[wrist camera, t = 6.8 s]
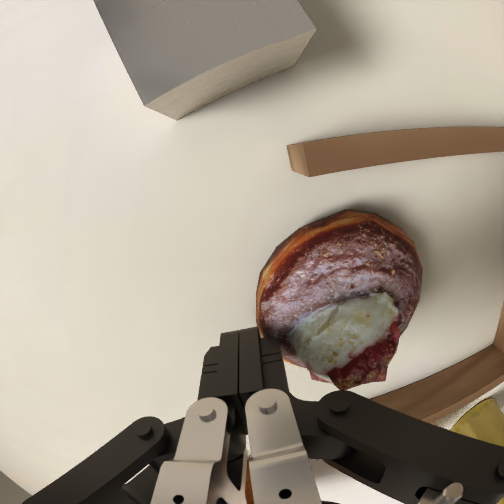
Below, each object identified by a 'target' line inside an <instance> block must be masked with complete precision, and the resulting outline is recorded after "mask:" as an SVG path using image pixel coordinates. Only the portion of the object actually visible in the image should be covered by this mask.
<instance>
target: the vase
mask: <svg viewBox="0 0 504 504" xmlns="http://www.w3.org/2000/svg"><path fill="white" fill-rule="evenodd" d="M451 431H453V432H456V433H459V434H462V435H465V436H469V437H472V438H475V439H478V440H482V441H485V442H489V443H492V444H496V445H500V446H503V447H504V415H503V413H502V412H501V410H500V409H499V407H498V405H497V403H496V401H495V400H494V399H487V400H484V401H482V402H481V403H479V404H477V405H476V406H475V407H473V408H472V409H471V410H469V411H468V412H467V413H466V414H465V415H464V416H463V417H462V418H461V419H460V420H459V421H458V422H457V423H456V424H455V425H454V426H453V428H452V429H451ZM498 504H504V498H502V499H501V500H500V501H499V503H498Z"/></svg>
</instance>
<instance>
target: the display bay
mask: <svg viewBox="0 0 504 504" xmlns="http://www.w3.org/2000/svg"><path fill="white" fill-rule="evenodd" d="M287 150H288V154H289V159H290V164H291V168H292V171H294V172H297V173H300V174H302V175H305V176H308V177H313V176H318V175H323V174H329V173H334V172H340V171H346V170H351V169H357V168H363V167H370V166H376V165H383V164H389V163H396V162H404V161H411V160H419V159H427V158H435V157H444V156H454V155H464V154H475V153H488V152H503V151H504V127H437V128H419V129H405V130H393V131H383V132H373V133H365V134H356V135H349V136H341V137H334V138H328V139H321V140H315V141H309V142H303V143H298V144H292V145H287ZM503 381H504V304H503V309H502V313H501V317H500V321H499V325H498V329H497V333H496V336H495V340H494V343H493V344H492V345H491V346H489V347H487V348H485V349H484V350H482V351H480V352H478V353H477V354H475V355H473V356H471V357H469V358H467V359H465V360H463V361H461V362H459V363H457V364H455V365H453V366H451V367H449V368H447V369H445V370H443V371H441V372H439V373H436V374H434V375H432V376H430V377H427V378H425V379H423V380H420V381H418V382H415V383H413V384H411V385H408V386H406V387H403V388H400V389H398V390H395V391H392V392H390V393H387V394H384V395H381V396H378V397H375V398H372V399H370V400H372V401H374V402H377V403H379V404H381V405H384V406H386V407H389V408H391V409H393V410H396V411H398V412H401V413H404V414H406V415H409V416H411V417H414V418H416V419H419V420H422V421H425V422H427V423H432V422H434V421H436V420H438V419H440V418H442V417H444V416H446V415H448V414H450V413H452V412H454V411H456V410H458V409H459V408H461V407H463V406H465V405H467V404H468V403H470V402H472V401H473V400H475V399H477V398H479V397H480V396H482V395H483V394H485V393H487V392H488V391H490V390H491V389H493V388H494V387H496V386H497V385H499V384H500V383H502V382H503Z"/></svg>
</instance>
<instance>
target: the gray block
mask: <svg viewBox="0 0 504 504" xmlns="http://www.w3.org/2000/svg"><path fill="white" fill-rule="evenodd" d="M94 2H95V5H96V7H97V9H98V11H99V13H100V16H101V18H102V20H103V22H104V24H105V26H106V28H107V31H108V33H109V35H110V37H111V39H112V41H113V43H114V45H115V47H116V50H117V52H118V54H119V56H120V58H121V60H122V62H123V64H124V66H125V68H126V70H127V72H128V74H129V76H130V78H131V80H132V82H133V84H134V86H135V89H136V91H137V93H138V95H139V97H140V99H141V101H142V103H143V105H144V106H146V107H148V108H150V109H152V110H155V111H157V112H159V113H161V114H164V115H166V116H168V117H170V118H172V119H174V120H178V119H180V118H182V117H184V116H185V115H187V114H189V113H191V112H193V111H195V110H197V109H198V108H200V107H202V106H204V105H206V104H208V103H210V102H212V101H214V100H216V99H218V98H220V97H222V96H224V95H226V94H229V93H231V92H233V91H235V90H237V89H239V88H242V87H244V86H246V85H248V84H251V83H253V82H255V81H258V80H260V79H262V78H265V77H267V76H270V75H272V74H275V73H277V72H280V71H283V70H285V69H288V68H291V67H293V66H294V65H295V63H296V61H297V60H298V58H299V57H300V55H301V53H302V52H303V50H304V49H305V47H306V46H307V44H308V42H309V41H310V39H311V38H312V36H313V35H314V33H315V31H316V30H317V29H316V27H315V26H314V24H313V23H312V21H311V20H310V18H309V17H308V15H307V14H306V12H305V11H304V9H303V8H302V6H301V5H300V3H299V2H298V0H94Z"/></svg>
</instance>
